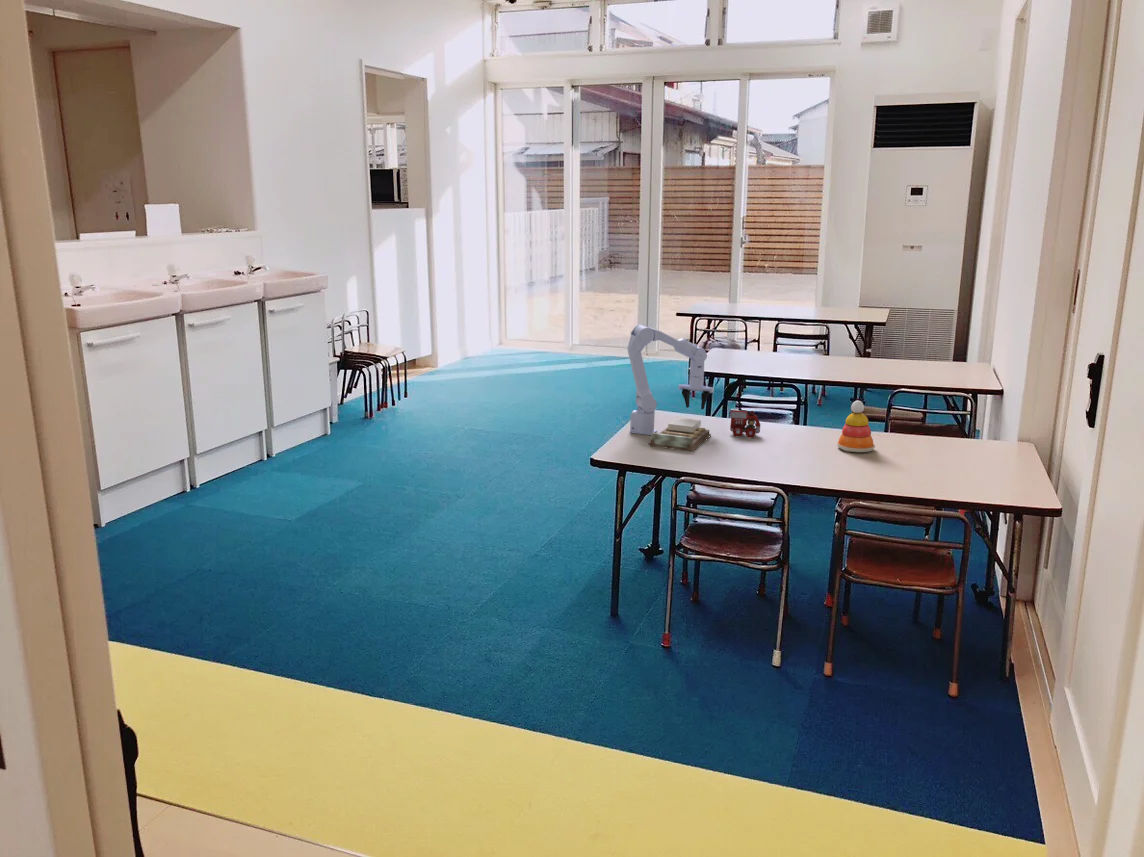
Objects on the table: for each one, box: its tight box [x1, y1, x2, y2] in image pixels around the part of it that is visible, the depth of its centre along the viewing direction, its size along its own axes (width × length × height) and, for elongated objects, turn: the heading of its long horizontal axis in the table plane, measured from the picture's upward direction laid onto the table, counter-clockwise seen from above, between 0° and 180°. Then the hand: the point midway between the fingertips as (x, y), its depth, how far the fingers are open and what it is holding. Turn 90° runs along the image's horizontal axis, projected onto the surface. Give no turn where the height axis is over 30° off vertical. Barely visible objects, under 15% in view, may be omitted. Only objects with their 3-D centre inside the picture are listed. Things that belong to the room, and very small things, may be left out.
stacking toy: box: [836, 400, 876, 453], centre depth 346 cm, size 14×14×20 cm
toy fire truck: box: [729, 409, 761, 438], centre depth 365 cm, size 7×12×10 cm, turn 79°
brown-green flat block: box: [648, 426, 712, 452], centre depth 356 cm, size 18×25×5 cm
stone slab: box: [667, 417, 702, 433], centre depth 362 cm, size 10×12×2 cm
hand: (695, 408), depth 371 cm, fingers open, 6 cm apart
